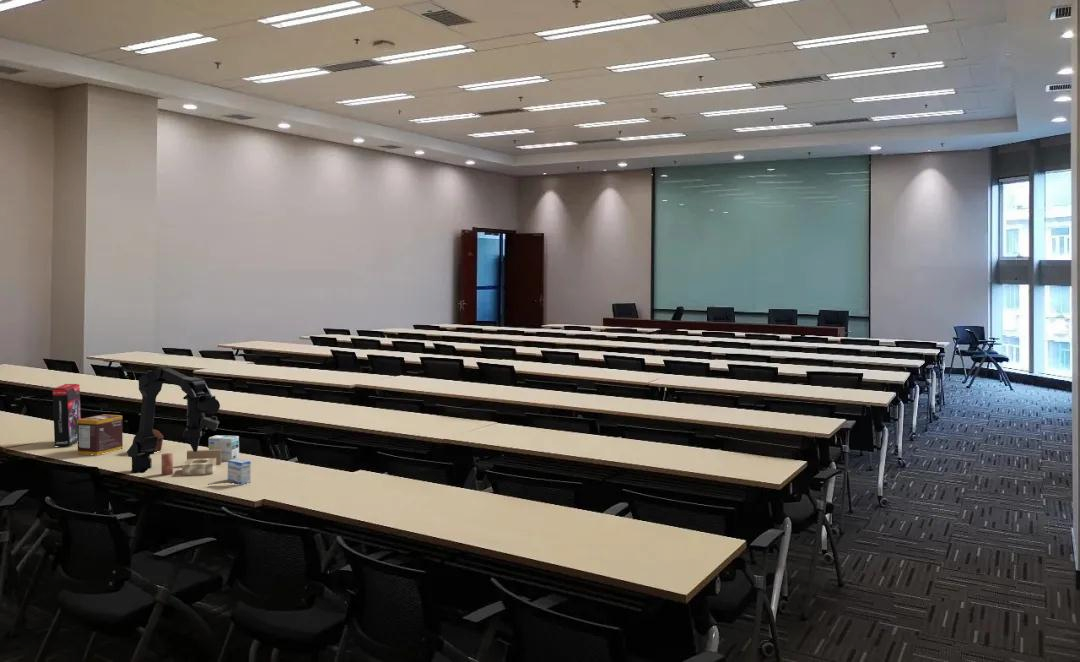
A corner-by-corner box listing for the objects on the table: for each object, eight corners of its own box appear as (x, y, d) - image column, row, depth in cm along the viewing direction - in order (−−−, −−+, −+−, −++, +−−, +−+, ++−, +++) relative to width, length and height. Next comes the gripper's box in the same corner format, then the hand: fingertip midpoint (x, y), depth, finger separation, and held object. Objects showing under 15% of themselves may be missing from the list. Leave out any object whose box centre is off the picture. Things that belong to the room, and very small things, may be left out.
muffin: (134, 450, 361) (134, 428, 361) (161, 448, 367) (161, 426, 367) (138, 455, 351) (137, 432, 351) (165, 453, 357) (165, 430, 357)
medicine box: (227, 482, 307) (227, 460, 306) (236, 480, 311) (236, 458, 310) (241, 485, 303) (241, 463, 303) (251, 483, 307) (251, 460, 307)
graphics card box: (69, 447, 366) (68, 388, 364) (52, 447, 364) (51, 388, 362) (81, 440, 382) (81, 383, 381) (65, 440, 381) (64, 383, 379)
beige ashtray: (182, 475, 313) (182, 465, 313) (187, 468, 324) (187, 459, 323) (212, 474, 316) (212, 463, 316) (216, 467, 326) (216, 458, 326)
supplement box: (123, 449, 364) (123, 415, 363) (96, 456, 349) (96, 420, 348) (104, 447, 366) (103, 413, 366) (77, 454, 352) (76, 419, 351)
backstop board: (179, 478, 312) (179, 460, 311) (187, 467, 331) (187, 450, 331) (214, 477, 315) (214, 459, 315) (221, 466, 334) (221, 449, 334)
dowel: (160, 478, 312) (160, 455, 311) (162, 475, 316) (162, 453, 315) (171, 477, 313) (171, 455, 312) (173, 475, 317) (173, 453, 316)
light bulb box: (239, 460, 346) (239, 435, 345) (232, 463, 339) (232, 438, 339) (216, 459, 347) (215, 434, 346) (208, 462, 340) (207, 437, 340)
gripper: (214, 415, 301) (214, 456, 302) (220, 407, 319) (220, 446, 320) (182, 415, 298) (182, 457, 299) (190, 408, 316) (190, 447, 317)
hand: (195, 451), depth 309 cm, fingers closed
